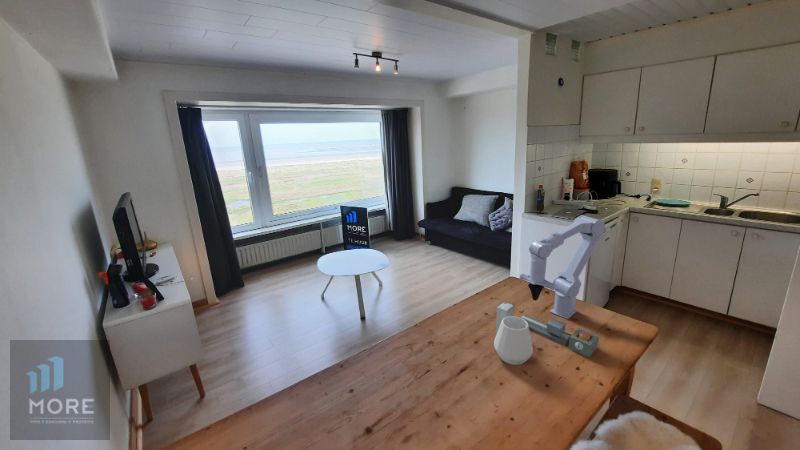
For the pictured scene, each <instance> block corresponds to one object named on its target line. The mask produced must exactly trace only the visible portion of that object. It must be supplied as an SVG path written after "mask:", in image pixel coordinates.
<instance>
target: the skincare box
mask: <svg viewBox="0 0 800 450" xmlns="http://www.w3.org/2000/svg"><path fill="white" fill-rule="evenodd" d="M508 316H514V304H511V303H508V302H505V301H504V302H502V303H501V304H500V305H498V306H497V307H496V320H495V323H496V324H495V335H497V332H498V330H499V327H500V324H501V322H502V320H503V318H505V317H508Z"/></svg>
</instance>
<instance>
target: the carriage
mask: <svg viewBox="0 0 800 450" xmlns="http://www.w3.org/2000/svg"><path fill="white" fill-rule="evenodd" d="M546 324H547V329H546V330H547V332H549V333H552V334H554V335H556V336H558V337H560V336H561V334H562V333H564V332H566V325H567V323H566V322H563V321H561V320H558V319H555V318H552V319H550V321H549V320H548V322H547V323H546Z"/></svg>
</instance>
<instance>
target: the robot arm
mask: <svg viewBox="0 0 800 450" xmlns="http://www.w3.org/2000/svg"><path fill="white" fill-rule="evenodd" d="M605 224H606V223H605V222H604V220H602V219H597V218H594V217H590V216H587V215H585V214H581V215H579V216H577V217H576V218H574V220H573V222H572V223H571V224H569V225H568V226H567V227H565V228H564V229H562V230H561V231H560V232H556V231H555V232H551V233H550V234H549V235H547V236H546V237H545V236H544V238H542V239H540V240H536V241H533V242H532V243H530V246H529V247H528V251H529V253H530V257H531V261H530V272H529V273H530V274H525V273H521V274H520V275H519V280H524V281H527V282H529V283H528V285H527V286H528V288H529V290H530V292H531V296H532V300H533V301H535V302H536V301H538V300H539V297H540V295H541V293H542V291H543V289H545V288H547V289H550V290H551V291H554V292H555V294H554V302H553V303H554V305H553V308H551V309H550V310H549V312H550V313H551V314H555V315H556V316H559V317H562V318H564V319H567V320H568V319H570V318H571V317H572V316H574V314H575V313H577V312H578V310H577V309H576V302H577V296H578V295H579V293H580V288H581V287H582V282H581V280H580V275H581V274H582V271H583V270H584V268H585V266H586V264H587V262H588V261H589V259H590V258H591V255H592V253H594V251H595V248H596V246H597V245H598V243H599V241H600V239H601V237H602V236H603V234H604V232H605V230H606V225H605ZM578 233H579V234H580V235H581V237H582V241H581V243H580V244H579V247H578V248H577V250H576V252H575V254H574V255H573V257H572V259H571V261H570V262H569V264H568V265H567V268H566V270H565V271H562V272H559V273H558V275H557V276H556V277H555V278H554V279H553V281H552V282H551V281H549V280H547V279H546V269H547V261H548V260H547V259H548V257H550V255H551V254H552V252H553V251H554V250H555V249H557V248H559V247H560V246H562V245H563V244H564V243H565V240H567V239H568V238H571V237H573V236H575V235H577V234H578Z"/></svg>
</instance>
